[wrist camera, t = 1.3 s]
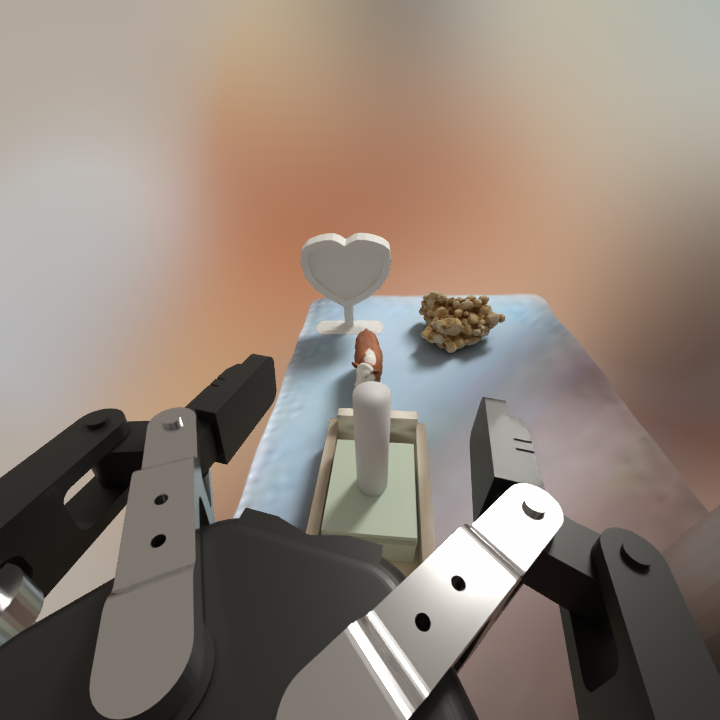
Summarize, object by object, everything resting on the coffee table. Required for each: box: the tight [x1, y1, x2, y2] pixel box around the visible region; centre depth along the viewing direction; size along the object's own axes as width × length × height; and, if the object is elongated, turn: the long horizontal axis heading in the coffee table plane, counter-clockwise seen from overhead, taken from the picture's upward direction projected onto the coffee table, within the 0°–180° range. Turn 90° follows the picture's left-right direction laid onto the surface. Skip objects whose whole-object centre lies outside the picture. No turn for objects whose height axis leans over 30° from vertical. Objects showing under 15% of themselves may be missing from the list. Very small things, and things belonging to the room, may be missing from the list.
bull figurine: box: [352, 328, 383, 387], centre depth 51 cm, size 4×13×8 cm, turn 177°
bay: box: [306, 408, 436, 578], centre depth 29 cm, size 12×34×6 cm, turn 175°
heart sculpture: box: [301, 233, 391, 334], centre depth 62 cm, size 16×5×18 cm, turn 88°
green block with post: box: [321, 381, 417, 563], centre depth 31 cm, size 8×10×17 cm
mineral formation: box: [419, 291, 505, 353], centre depth 61 cm, size 8×13×15 cm
